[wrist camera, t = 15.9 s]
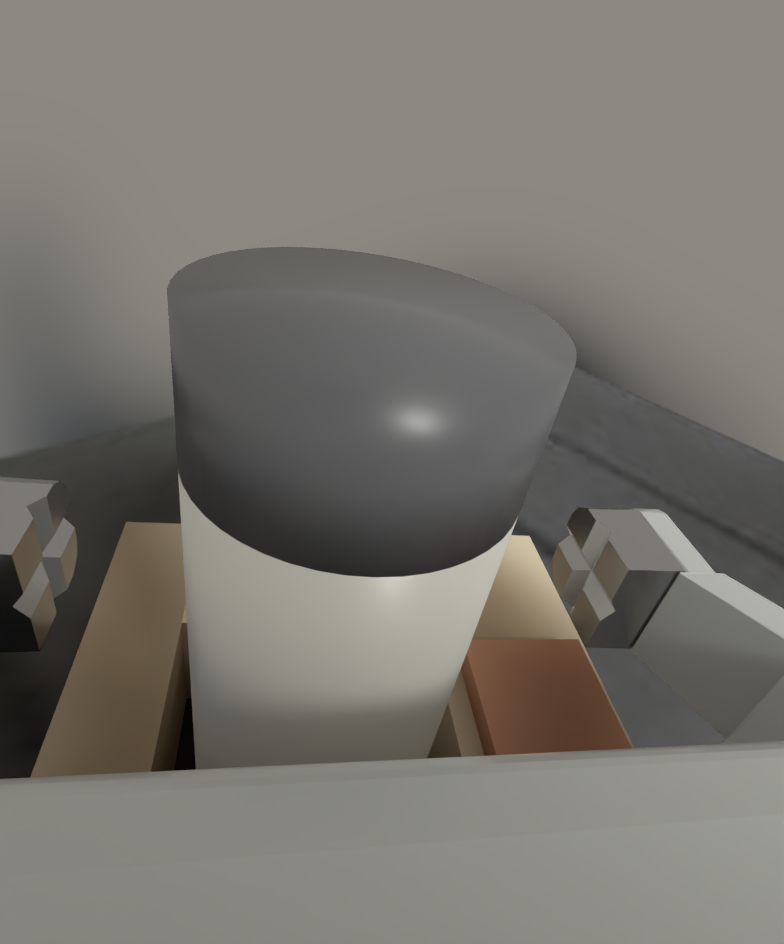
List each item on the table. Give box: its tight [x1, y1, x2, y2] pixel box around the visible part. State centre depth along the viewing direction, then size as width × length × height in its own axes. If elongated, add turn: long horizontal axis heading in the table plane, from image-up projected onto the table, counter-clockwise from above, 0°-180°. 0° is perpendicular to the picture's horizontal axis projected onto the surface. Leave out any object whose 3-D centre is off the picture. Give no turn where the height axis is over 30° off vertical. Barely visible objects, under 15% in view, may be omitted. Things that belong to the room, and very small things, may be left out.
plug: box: [167, 247, 577, 770], centre depth 10 cm, size 4×4×12 cm
